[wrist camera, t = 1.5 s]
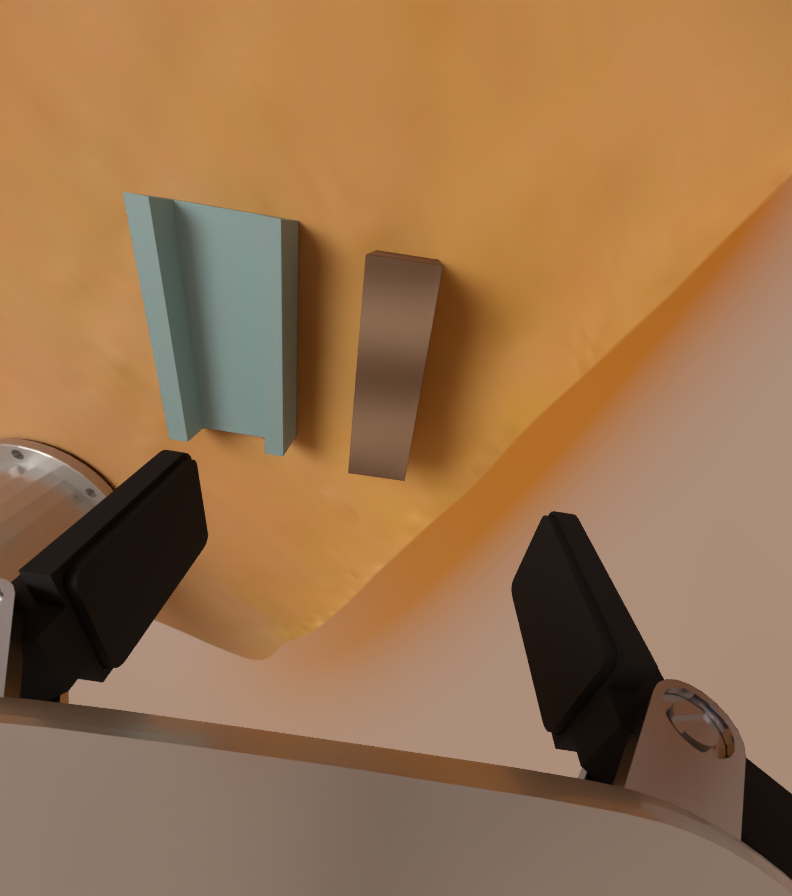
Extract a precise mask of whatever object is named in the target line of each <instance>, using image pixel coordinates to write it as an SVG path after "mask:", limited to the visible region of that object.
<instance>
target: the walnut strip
mask: <svg viewBox="0 0 792 896" xmlns="http://www.w3.org/2000/svg"><path fill="white" fill-rule="evenodd" d="M442 267H443V266H442V265H441V263H440V262H439V260H437V259H430V258H424V257H417V256H410V255H404V254H397V253H391V252H384V251H378V250H376V251H374V252H371V253H369V254H366V259H365V272H364V284H363V296H362V309H361V321H360V334H359V346H358V358H357V371H356V383H355V395H354V408H353V420H352V433H351V445H350V457H349V470H348V473H352V474H359V475H366V476H373V477H380V478H387V479H394V480H401V481H405V476H406V470H407V465H408V459H409V453H410V448H411V442H412V436H413V431H414V425H415V420H416V414H417V408H418V403H419V397H420V391H421V386H422V380H423V374H424V369H425V363H426V358H427V352H428V346H429V341H430V335H431V329H432V324H433V318H434V313H435V307H436V301H437V296H438V290H439V284H440V279H441V273H442Z"/></svg>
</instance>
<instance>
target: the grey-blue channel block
mask: <svg viewBox="0 0 792 896" xmlns="http://www.w3.org/2000/svg"><path fill="white" fill-rule="evenodd" d="M123 196H124V202H125V207H126V212H127V217H128V223H129V228H130V233H131V239H132V244H133V249H134V254H135V260H136V265H137V270H138V275H139V281H140V286H141V291H142V297H143V302H144V307H145V312H146V318H147V323H148V328H149V334H150V339H151V344H152V349H153V355H154V360H155V365H156V370H157V376H158V381H159V386H160V392H161V397H162V402H163V407H164V413H165V418H166V423H167V429H168V434H169V439H174V440H180V441H186V442H188V441H189V440H190V439H191V438H192V437H194V436H195V435H196V434H197V433H198V432H199V431H200V430H201V429H202V428H207V429H214V430H220V431H227V432H233V433H239V434H246V435H252V436H259V437H264V439H265V454H271V455H277V456H284V454H285V453H286V451H287V449H288V448H289V446H290V444H291V443H292V441H293V440H294V438H295V436H296V412H297V323H298V234H299V221H296V220H290V219H284V218H278V217H273V216H267V215H261V214H255V213H249V212H243V211H238V210H232V209H226V208H220V207H214V206H208V205H203V204H197V203H191V202H185V201H179V200H173V199H168V198H162V197H155V196H147V195H140V194H133V193H126V192H123Z"/></svg>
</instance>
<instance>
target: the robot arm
mask: <svg viewBox="0 0 792 896" xmlns="http://www.w3.org/2000/svg"><path fill="white" fill-rule="evenodd" d="M207 538H208V531H207V525H206V519H205V512H204V506H203V499H202V493H201V487H200V480H199V474H198V468H197V463H196V461H195V460H192V459H191V456H190V455H189V454H187V453H183V452H176V451H170V450H163V451H161V452H159V453H158V454H157V455H156V456H155V457H153V458H152V459H151V460H150V461H149V462H147V463H146V464H145V465H144V466H143V467H141V468H140V469H139V470H138V471H137V472H135V473H134V474H133V475H132V476H131V477H129V478H128V479H127V480H126V481H125V482H123V483H122V484H121V485H120V486H119V487H118V488H116V489H115V490H114V491H113V490H112V489H111V487H110V486H109V485H108V484H107V483H106V482H105V481H104V480H103V479H102V478H101V477H100V476H99V475H98V474H97V473H95V472H94V471H93V470H92V469H90V468H89V467H88V466H86V465H85V464H84V463H82V462H80V461H79V460H77V459H75V458H74V457H72V456H70V455H68V454H66V453H64V452H62V451H60V450H58V449H56V448H53V447H50V446H47V445H44V444H41V443H38V442H33V441H28V440H23V439H1V440H0V896H792V794H791V793H790V792H788V791H787V790H786V789H785V788H783V787H782V786H781V785H779V784H778V783H777V782H776V781H775V780H773V779H772V778H771V777H770V776H768V775H767V774H766V773H765V772H763V771H762V770H761V769H760V768H758V767H757V766H756V765H755V764H753V763H752V762H751V761H750V760H748V759H747V758H746V754H745V747H744V743H743V740H742V738H741V736H740V734H739V731H738V729H737V728H736V727H735V725H734V724H733V722H732V721H731V719H730V718H729V716H728V715H727V714H726V713H725V712H724V711H723V710H722V709H721V708H720V707H719V705H718V704H717V703H716V702H714V701H713V700H712V699H710V698H709V697H708V696H707V695H706V694H704V693H703V692H702V691H700V690H698V689H697V688H695V687H693V686H692V685H689V684H687V683H684V682H682V681H679V680H673V679H665V680H664V679H663V677H662V675H661V673H660V671H659V669H658V666H657V664H656V663H655V661H654V659H653V657H652V655H651V653H650V651H649V650H648V647H647V646H646V644H645V642H644V641H643V638H642V637H641V634H640V633H639V631H638V629H637V627H636V625H635V623H634V621H633V620H632V618H631V616H630V614H629V612H628V610H627V608H626V607H625V605H624V603H623V601H622V599H621V597H620V595H619V594H618V592H617V590H616V588H615V586H614V584H613V582H612V580H611V579H610V577H609V575H608V573H607V571H606V569H605V567H604V566H603V564H602V562H601V560H600V558H599V556H598V555H597V553H596V551H595V549H594V547H593V545H592V543H591V541H590V540H589V538H588V536H587V534H586V532H585V530H584V528H583V527H582V525H581V523H580V521H579V519H578V518H577V516H576V515H574V514H568V513H562V512H555V511H553V512H551V513H550V514H549V515H548V516H543V517H542V519H541V521H540V523H539V525H538V527H537V530H536V532H535V534H534V536H533V538H532V540H531V543H530V545H529V547H528V549H527V551H526V553H525V556H524V558H523V560H522V562H521V564H520V566H519V569H518V571H517V573H516V575H515V577H514V580H513V582H512V589H511V590H512V597H513V601H514V605H515V609H516V613H517V617H518V622H519V626H520V630H521V634H522V638H523V642H524V647H525V651H526V655H527V658H528V663H529V667H530V671H531V676H532V680H533V684H534V688H535V692H536V696H537V700H538V704H539V709H540V712H541V717H542V721H543V724H544V727H545V729H546V730H547V731H548V732H551V733H552V737H553V740H554V744H555V748H556V749H561V750H568V751H575V752H577V754H578V758H579V761H580V764H581V766H582V769H581V772H580V774H579V777H578V778H572V777H566V776H560V775H555V774H549V773H543V772H537V771H532V770H525V769H520V768H514V767H507V766H501V765H494V764H487V763H481V762H474V761H468V760H460V759H454V758H447V757H441V756H434V755H428V754H421V753H414V752H408V751H401V750H394V749H387V748H380V747H374V746H367V745H361V744H353V743H347V742H340V741H333V740H326V739H319V738H313V737H306V736H298V735H291V734H285V733H278V732H271V731H264V730H257V729H250V728H243V727H236V726H229V725H222V724H215V723H208V722H201V721H193V720H186V719H179V718H172V717H165V716H157V715H151V714H143V713H136V712H129V711H122V710H115V709H107V708H99V707H90V706H82V705H74V704H69V695H68V693H69V692H68V691H69V689H70V688H71V687H72V686H73V684H74V683H75V682H76V680H77V679H83V680H91V681H97V682H104V680H105V679H106V678H107V676H108V675H109V673H110V672H111V670H112V669H113V668H117V667H119V666H121V665H122V664H123V663H124V661H125V660H126V659H127V658H128V656H129V654H130V653H131V652H132V650H133V649H134V647H135V646H136V645H137V643H138V642H139V640H140V639H141V637H142V636H143V634H144V633H145V632H146V630H147V629H148V627H149V626H150V624H151V623H152V621H153V620H154V619H155V617H156V616H157V614H158V613H159V612H160V610H161V609H162V607H163V606H164V604H165V603H166V601H167V600H168V599H169V597H170V596H171V594H172V593H173V591H174V590H175V589H176V587H177V586H178V584H179V583H180V581H181V580H182V578H183V577H184V576H185V574H186V573H187V571H188V570H189V568H190V567H191V566H192V564H193V563H194V561H195V560H196V558H197V557H198V555H199V554H200V553H201V551H202V550H203V548H204V547H205V545H206V542H207Z"/></svg>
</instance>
